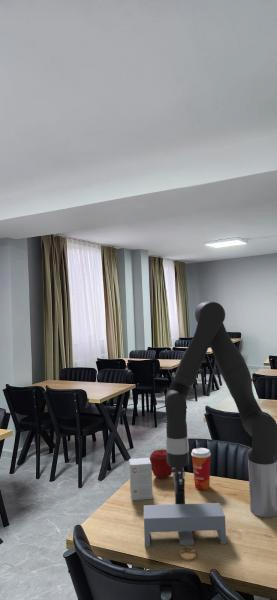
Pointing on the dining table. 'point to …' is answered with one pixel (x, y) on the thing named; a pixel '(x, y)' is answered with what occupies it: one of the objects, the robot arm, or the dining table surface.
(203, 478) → the paper cup
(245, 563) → the dining table surface
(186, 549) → the token
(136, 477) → the small box
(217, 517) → the shelf
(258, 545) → the dining table surface
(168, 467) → the apple
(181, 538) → the grey l-shaped bracket
